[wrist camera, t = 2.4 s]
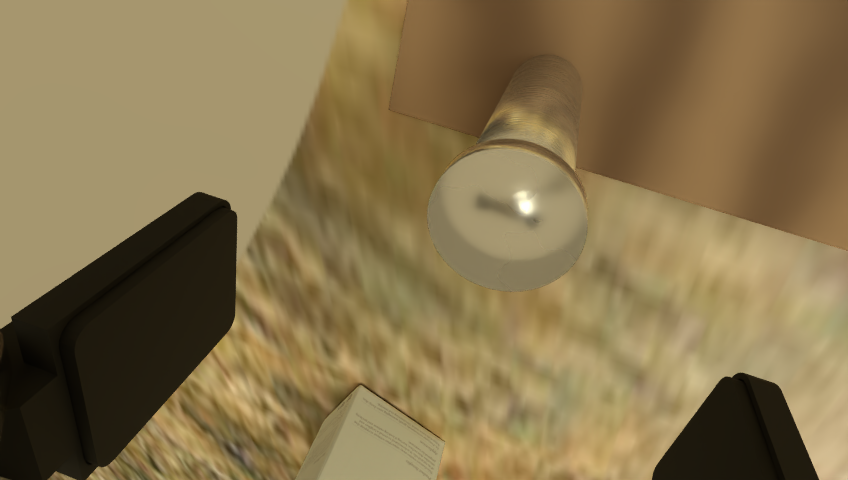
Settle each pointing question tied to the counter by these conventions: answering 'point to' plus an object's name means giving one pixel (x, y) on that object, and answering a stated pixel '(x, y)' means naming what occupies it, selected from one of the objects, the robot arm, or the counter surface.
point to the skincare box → (371, 444)
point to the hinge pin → (517, 186)
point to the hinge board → (663, 93)
